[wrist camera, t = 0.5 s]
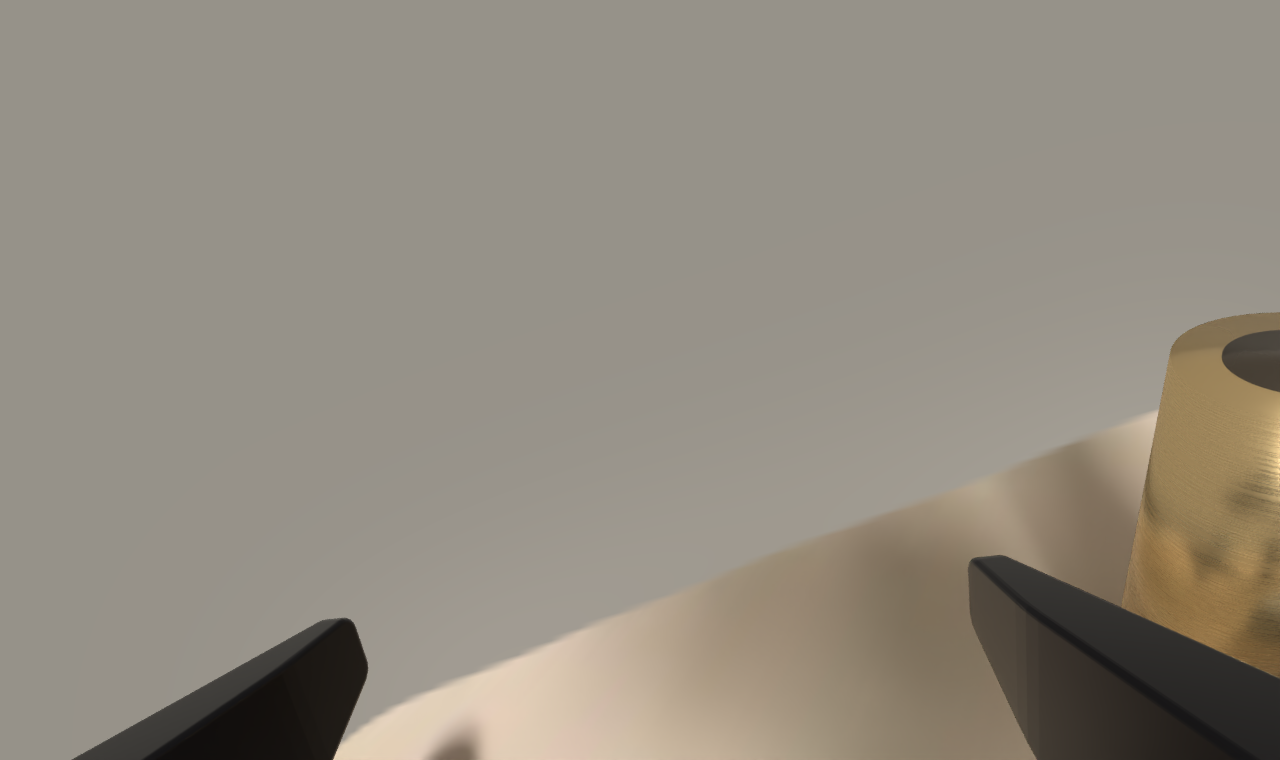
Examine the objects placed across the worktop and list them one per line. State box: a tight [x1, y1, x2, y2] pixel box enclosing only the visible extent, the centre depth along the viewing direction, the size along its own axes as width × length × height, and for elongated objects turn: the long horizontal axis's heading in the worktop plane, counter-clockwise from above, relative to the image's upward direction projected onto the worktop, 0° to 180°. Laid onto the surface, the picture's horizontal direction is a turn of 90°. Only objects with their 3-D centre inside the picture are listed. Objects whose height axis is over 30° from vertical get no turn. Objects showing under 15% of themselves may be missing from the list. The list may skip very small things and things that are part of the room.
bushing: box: [1121, 313, 1280, 678], centre depth 16 cm, size 4×4×13 cm
